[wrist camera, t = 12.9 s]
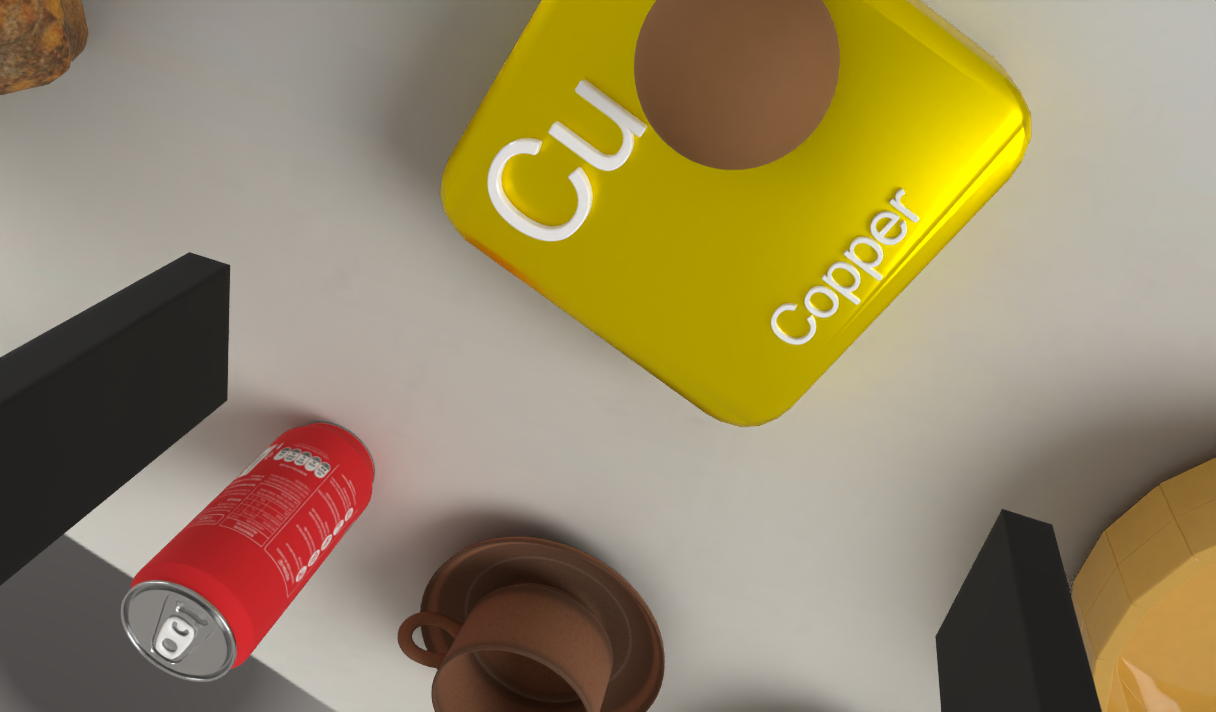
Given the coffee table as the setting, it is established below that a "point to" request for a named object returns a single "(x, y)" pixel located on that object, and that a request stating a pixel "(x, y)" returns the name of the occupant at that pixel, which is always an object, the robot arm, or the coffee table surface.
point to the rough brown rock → (38, 41)
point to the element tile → (732, 197)
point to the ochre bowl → (1154, 600)
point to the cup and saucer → (535, 632)
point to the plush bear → (736, 77)
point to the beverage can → (248, 553)
